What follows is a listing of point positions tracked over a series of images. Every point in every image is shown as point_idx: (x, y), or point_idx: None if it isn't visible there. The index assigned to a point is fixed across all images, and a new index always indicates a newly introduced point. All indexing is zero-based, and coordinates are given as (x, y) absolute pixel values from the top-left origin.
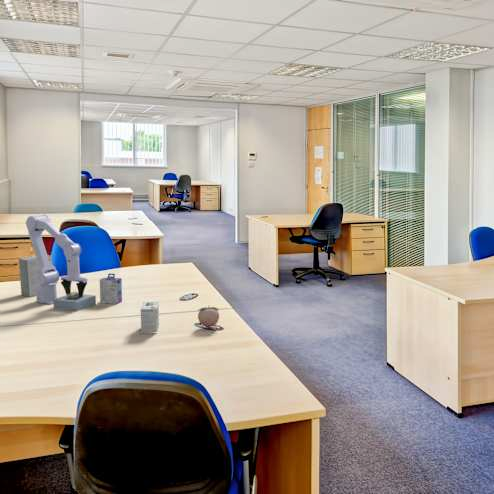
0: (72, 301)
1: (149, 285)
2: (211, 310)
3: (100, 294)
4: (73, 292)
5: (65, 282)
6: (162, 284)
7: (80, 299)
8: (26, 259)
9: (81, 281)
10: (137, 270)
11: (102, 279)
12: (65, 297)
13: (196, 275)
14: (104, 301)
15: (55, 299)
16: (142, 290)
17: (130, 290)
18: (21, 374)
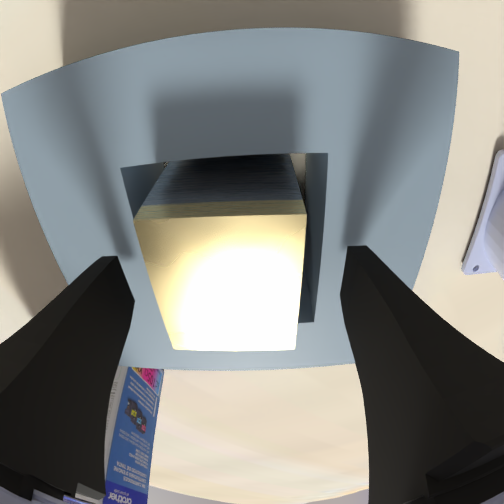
0: (74, 86)
1: (208, 473)
2: None
3: (117, 389)
4: (275, 324)
5: (444, 464)
6: (185, 476)
7: (82, 220)
8: None
9: (2, 487)
10: (342, 489)
11: (79, 500)
12: (363, 208)
13: (187, 494)
14: None
15: (431, 55)
16: (175, 455)
17: (212, 453)
18: None
